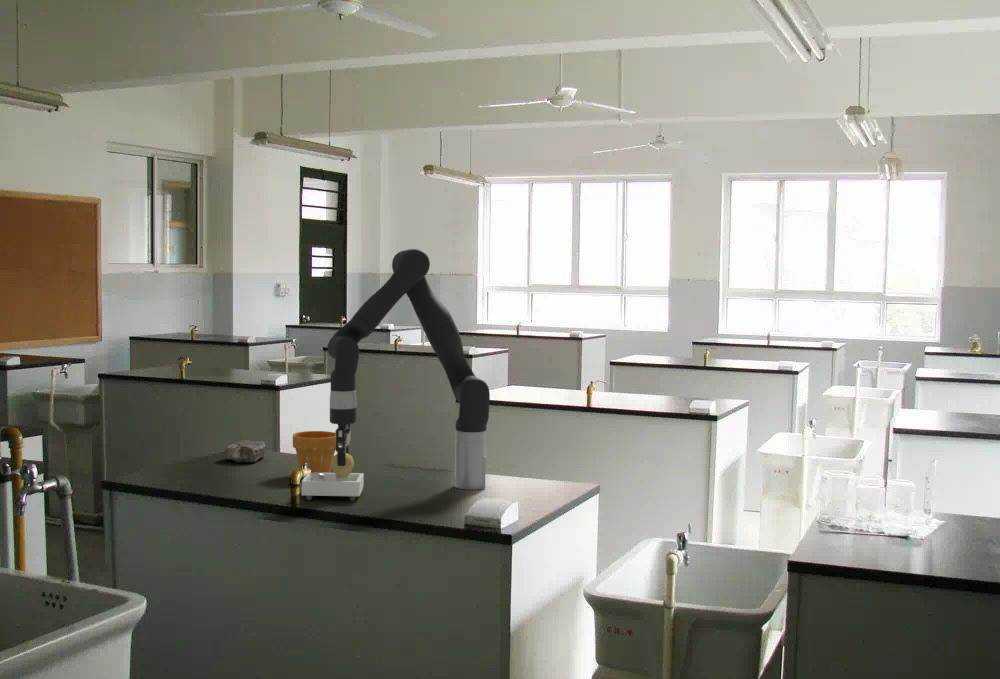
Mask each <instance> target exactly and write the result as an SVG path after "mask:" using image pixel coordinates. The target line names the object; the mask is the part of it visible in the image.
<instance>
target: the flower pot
mask: <svg viewBox="0 0 1000 679" xmlns="http://www.w3.org/2000/svg"><path fill="white" fill-rule="evenodd" d="M292 447H293V448H294V450H295V452H296V457H297V463H298V468H299V467H301V466H302V465H304V464H305V463H309V467H310V468H311V473H313V472H323V473H331V472H332V471H331V470H332V466H331V461H332V458H333V457H334V456H335V455H336V454H335V453H336V435H335V432H333V431H325V430H309V431H308V430H305V431H304V430H303V431H300V432H299V431H298V432H295V433H292Z"/></svg>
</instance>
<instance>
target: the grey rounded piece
mask: <svg viewBox="0 0 1000 679" xmlns="http://www.w3.org/2000/svg"><path fill="white" fill-rule="evenodd" d="M310 481H325V473H323V472H313V473H310Z"/></svg>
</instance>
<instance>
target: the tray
mask: <svg viewBox="0 0 1000 679" xmlns="http://www.w3.org/2000/svg"><path fill="white" fill-rule="evenodd" d="M336 476H337V475H336V474H335V472H330V473H325V481H310V473H308V474H307V475H306V476H305V477H303V479H302V480H301V496H306V500H307V501H312V499H313V496H314V497H316V496H318V497H319V496H321V497H322V496H323V497H324V496H325V497H326V496H327V497H349V500H350V502H354V501H355V500H356V497H360V496H361V494H362V491H363V489H364V484H365V483H364V480H365V478H364V472H362V473H360V472H350V473H349V475H348V476H349V481H336Z"/></svg>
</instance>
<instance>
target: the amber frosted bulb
mask: <svg viewBox="0 0 1000 679" xmlns="http://www.w3.org/2000/svg"><path fill="white" fill-rule="evenodd" d="M331 466H332V467H331V470H332V471H333V473H335V474H336V475H337V476H336V481H349V476H348V475H349V473H352V470H353V469H354V466H355V461H354V458H353V456H352V455H351V454H350V453H349V454H348V453H346V464H345V466H338V465H337V453H336V454H334V457H333V458H332V461H331Z"/></svg>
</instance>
